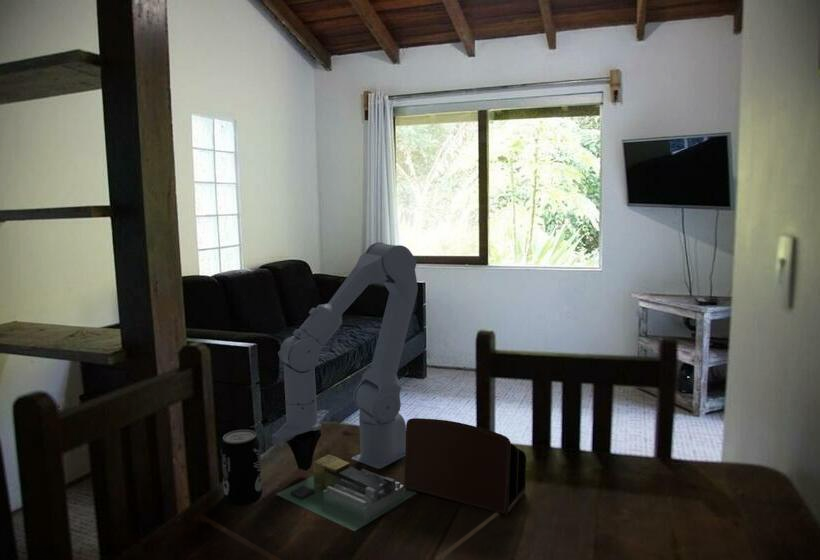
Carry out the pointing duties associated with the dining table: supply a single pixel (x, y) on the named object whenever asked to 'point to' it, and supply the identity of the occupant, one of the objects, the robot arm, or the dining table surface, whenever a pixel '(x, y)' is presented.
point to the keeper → (321, 471)
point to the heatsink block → (363, 497)
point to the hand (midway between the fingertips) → (304, 468)
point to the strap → (360, 478)
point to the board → (314, 502)
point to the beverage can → (241, 467)
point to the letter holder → (463, 464)
